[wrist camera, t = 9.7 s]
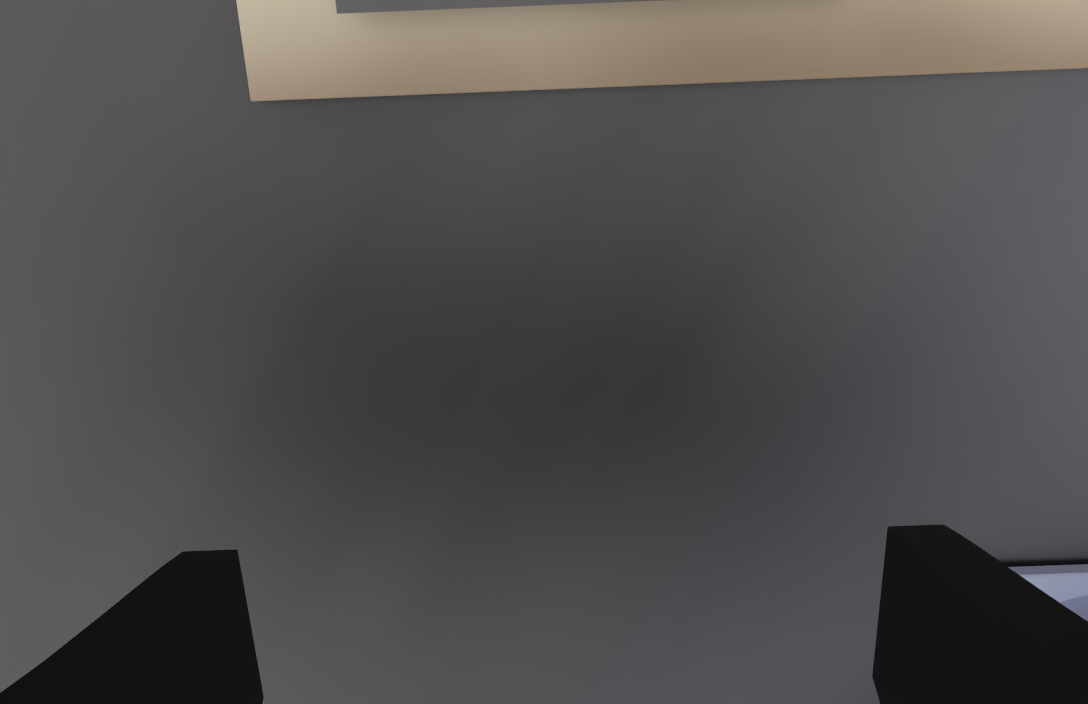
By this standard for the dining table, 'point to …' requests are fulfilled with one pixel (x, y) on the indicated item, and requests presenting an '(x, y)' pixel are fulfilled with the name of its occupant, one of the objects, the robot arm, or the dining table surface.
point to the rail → (637, 42)
